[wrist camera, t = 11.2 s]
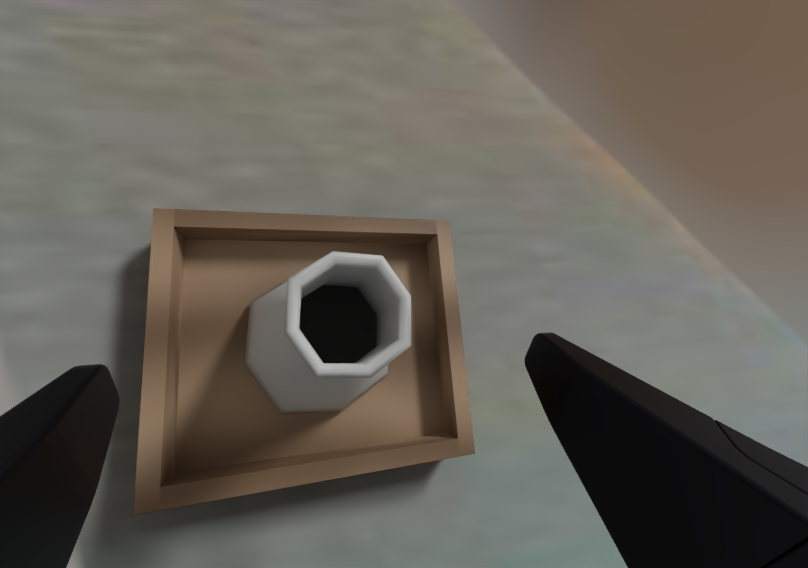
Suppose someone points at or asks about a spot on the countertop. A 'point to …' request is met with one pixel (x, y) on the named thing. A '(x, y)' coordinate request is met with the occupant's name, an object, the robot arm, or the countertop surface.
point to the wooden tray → (239, 390)
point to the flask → (328, 332)
